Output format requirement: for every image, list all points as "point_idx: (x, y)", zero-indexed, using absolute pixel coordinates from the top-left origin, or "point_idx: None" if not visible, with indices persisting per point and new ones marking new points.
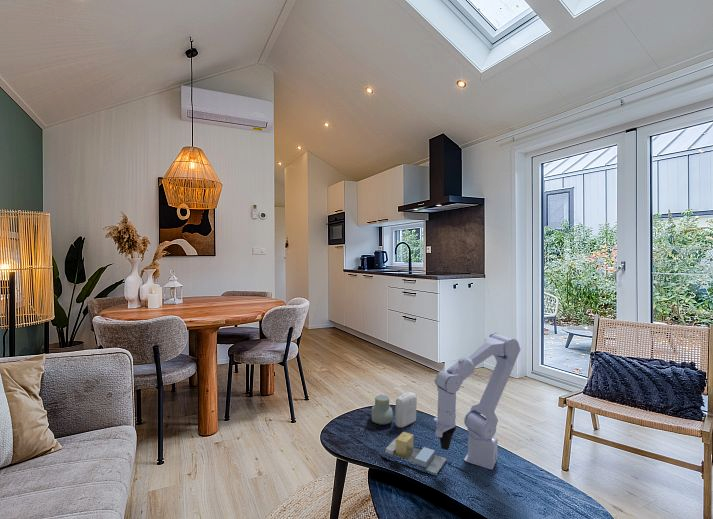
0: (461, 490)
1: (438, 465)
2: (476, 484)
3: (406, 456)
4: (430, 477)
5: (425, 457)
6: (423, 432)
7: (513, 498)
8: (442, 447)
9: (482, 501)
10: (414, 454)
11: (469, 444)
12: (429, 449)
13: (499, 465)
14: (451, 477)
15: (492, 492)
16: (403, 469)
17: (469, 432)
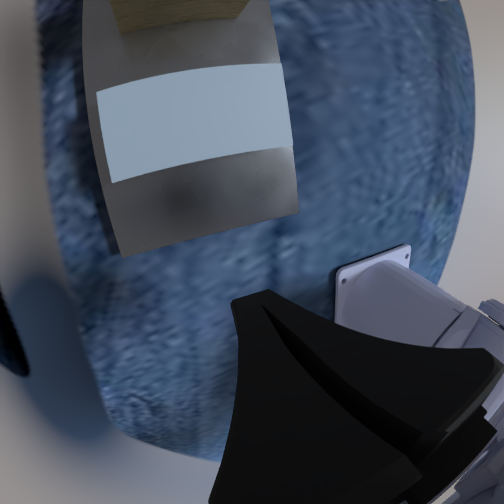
0: (140, 369)
1: (201, 216)
2: (219, 378)
3: (122, 26)
4: (94, 231)
5: (158, 142)
6: (411, 29)
7: None
8: (234, 314)
9: (155, 419)
10: (205, 38)
11: (401, 315)
12: (279, 108)
13: None
14: (180, 302)
15: (219, 414)
16: (51, 80)
17: (452, 337)
